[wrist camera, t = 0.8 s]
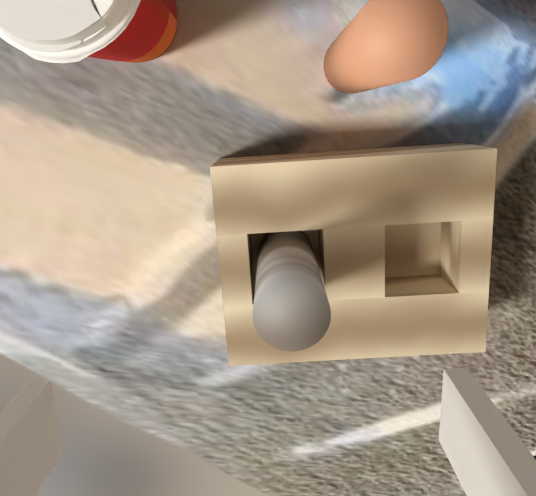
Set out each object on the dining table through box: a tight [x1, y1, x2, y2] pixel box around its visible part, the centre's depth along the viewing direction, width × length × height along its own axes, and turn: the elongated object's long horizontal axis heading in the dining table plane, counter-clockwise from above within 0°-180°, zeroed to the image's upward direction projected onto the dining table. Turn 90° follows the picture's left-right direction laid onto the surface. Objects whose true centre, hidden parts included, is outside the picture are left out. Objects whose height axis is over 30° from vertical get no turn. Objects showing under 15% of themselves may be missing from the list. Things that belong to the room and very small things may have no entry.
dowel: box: [324, 0, 448, 94], centre depth 28 cm, size 4×4×14 cm
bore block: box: [210, 143, 497, 366], centre depth 31 cm, size 14×18×14 cm
